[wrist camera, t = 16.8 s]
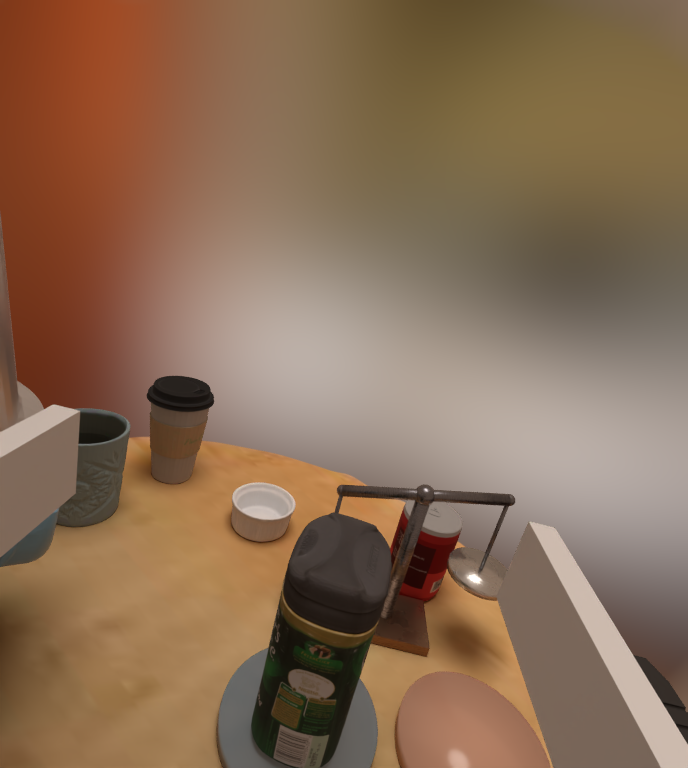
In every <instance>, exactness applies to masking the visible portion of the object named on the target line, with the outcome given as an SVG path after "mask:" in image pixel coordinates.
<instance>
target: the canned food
mask: <svg viewBox="0 0 688 768" xmlns="http://www.w3.org/2000/svg"><path fill="white" fill-rule="evenodd" d="M414 502H415V500H407V502H406V504H405V506H404V508H403V511H402V514H401V517H400V520H399V523H398V527H397V530H396V533H395V536H394V539H393V542H392V545H391V548H390V552H391V562H392V568H393V565H394V562H395V559H396V556H397V553H398V550H399V547H400V544H401V541H402V538H403V535H404V532H405V529H406V526H407V523H408V520H409V517H410V514H411V511H412V508H413V505H414ZM462 525H463V522H462V519H461V516H460V515H459V514H458V512H457V511H456V510H455V509H453V508H452V507H451V506H449V505H448V504H447V503H445V502H433V503H432V504H431V505H430V506H429V509H428V512H427V515H426V517H425V520H424V523H423V526H422V529H421V532H420V535H419V538H418V541H417V543H416V546H415V549H414V552H413V555H412V558H411V561H410V564H409V567H408V569H407V572H406V575H405V578H404V581H403V584H402V587H401V590H400V593H399V595H402V596H407V597H411V598H415V599H419V600H423V601H427V600H430V599H431V598H432V597H433V596H434V595H435V594H436V593H437V592H438V590H439V587H440V585H441V582H442V580H443V577H444V575H445V572H446V569H447V561H448V558H449V555H450V553H451V552H452V551H453V550H454V549H455V546H456V543H457V541H458V538H459V535H460V532H461V529H462ZM391 571H392V570H391Z"/></svg>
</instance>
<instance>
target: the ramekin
mask: <svg viewBox="0 0 688 768" xmlns="http://www.w3.org/2000/svg"><path fill="white" fill-rule="evenodd" d="M232 504H233V508H232V518H231V521H232V526H233V528H234V530H235V531H236V532H237V533H238V534H239V535H241V536H242V537H244V538H246V539H249V540H252V541H258V542H267V541H272V540H275V539H278V538H279V537H281V536H282V535H283V534H284V533H285V531H286V529H287V527H288V524H289V521H290V518H291V515H292V513H293V512H294V509H295V501H294V498H293V497H292V496H291V494H290V493H288V492H287V491H286V490H284V489H283V488H280V487H278V486H276V485H273V484H268V483H249V484H245V485H243V486H240V487H239V488H237V489H236V490H235V491H234V493H233V496H232Z"/></svg>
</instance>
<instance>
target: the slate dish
mask: <svg viewBox="0 0 688 768" xmlns="http://www.w3.org/2000/svg"><path fill="white" fill-rule="evenodd" d="M267 653H268V648H267V649H264V650H262V651H260V652H258V653H257V654H255V655H253V656H252V657H250V658H249V659H248V660H247V661H245V662H244V663H243V664H242V665H241V666H240V667H239V668H238V669H237V671H236V672H235V673H234V675H233V676H232V678H231V679H230V681H229V683H228V685H227V687H226V689H225V692H224V694H223V698H222V702H221V706H220V711H219V715H218V722H217V746H218V752H219V756H220V760H221V764H222V766H223V768H292V767H289V766H286V765H284V764H282V763H280V762H277V761H275V760H274V759H272V758H270V757H269V756H268V755H266V754H265V753H264V752H262V751H261V750H260V749H259V747H258V746H257V744H256V743H255V741H254V739H253V735H252V729H251V723H252V716H253V712H254V708H255V703H256V699H257V695H258V691H259V687H260V683H261V679H262V675H263V670H264V666H265V661H266V657H267ZM377 736H378V729H377V718H376V713H375V709H374V706H373V702H372V700H371V697H370V695H369V693H368V691H367V689H366V687H365V686H364V684H363V682H362V681H361V680H360V678H359V681H358V684H357V687H356V690H355V693H354V696H353V699H352V702H351V705H350V709H349V712H348V715H347V719H346V722H345V725H344V728H343V731H342V734H341V737H340V740H339V743H338V746H337V748H336V751H335V753H334V755H333V757H332V758H331V759H330V761H329V762H328V763H327V764H325V765H324V766H323V767H321V768H370V767H371V764H372V761H373V758H374V755H375V751H376V746H377Z"/></svg>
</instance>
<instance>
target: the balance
mask: <svg viewBox="0 0 688 768" xmlns="http://www.w3.org/2000/svg"><path fill="white" fill-rule="evenodd" d="M337 493H338V495H339V498H338V502H337V506H336V509H335V513H338V512H339V509H340V505H341V501H342V498H343V496H347V497H364V498H381V499H398V500H415V502H414V505H413V508H412V511H411V514H410V517H409V520H408V523H407V526H406V529H405V532H404V535H403V538H402V541H401V544H400V547H399V550H398V553H397V556H396V559H395V562H394V565H393V568H392V571H391V576H390V584H389V593H388V596H387V597H386V598H385V601H384V605H383V609H382V612H381V616H380V619H379V621H378V624H377V627H376V630H375V632H374V635H373V638H372V641H371V643H373V644H377V645H381V646H385V647H389V648H393V649H397V650H402V651H406V652H410V653H414V654H418V655H422V656H427V654H428V651H429V641H428V633H427V626H426V618H425V610H424V602H423V600H419V599H415V598H411V597H407V596H402V595H399V593H400V590H401V587H402V584H403V581H404V578H405V575H406V572H407V569H408V567H409V564H410V561H411V558H412V555H413V552H414V549H415V546H416V543H417V541H418V538H419V535H420V532H421V529H422V526H423V523H424V520H425V517H426V515H427V512H428V509H429V506H430V505H431V504H432V503H433V502H450V503H467V504H468V503H469V504H485V505H502V506H504V508H503V511H502V513H501V516H500V518H499V521H498V523H497V526H496V528H495V531H494V533H493V536H492V538H491V540H490V543H489V545H488V548H487V550H486V552H482V551H479V550H476V549H473V548H465V547H463V548H457V549H455V550H453V551H452V552H451V553H450V555H449V558H448V561H447V569H448V572H449V574H450V575H451V577H452V578H453V580H454V581H455V582H456V583H457V584H458V585H459V586H460V587H462V588H463V589H464V590H466V591H467V592H469V593H471V594H472V595H475V596H477V597H479V598H482V599H486V600H491V601H498V600H497V597H496V596H497V594H498V591H499V589H500V587H501V584H502V582H503V580H504V578H505V575H506V573H507V571H508V570H507V569H506V568H505V567H504V565H503V564H501V563H500V562H499V561H498V560H497V559H495V558H494V557H492V556H490V555H489V553H490V551H491V548H492V546H493V543H494V541H495V539H496V536H497V533H498V531H499V529H500V526H501V523H502V521H503V519H504V517H505V514H506V512H507V509H508V507H509V506H512V505H513V504H514V503H515V498H514V496H513V495H511V494H496V493H478V492H461V491H443V490H434V489H433V488H432V487H430V486H429V485H421V486H419V487H418V488H417V489H407V488H390V487H373V486H355V485H340V486H339V487H338V488H337Z"/></svg>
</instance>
